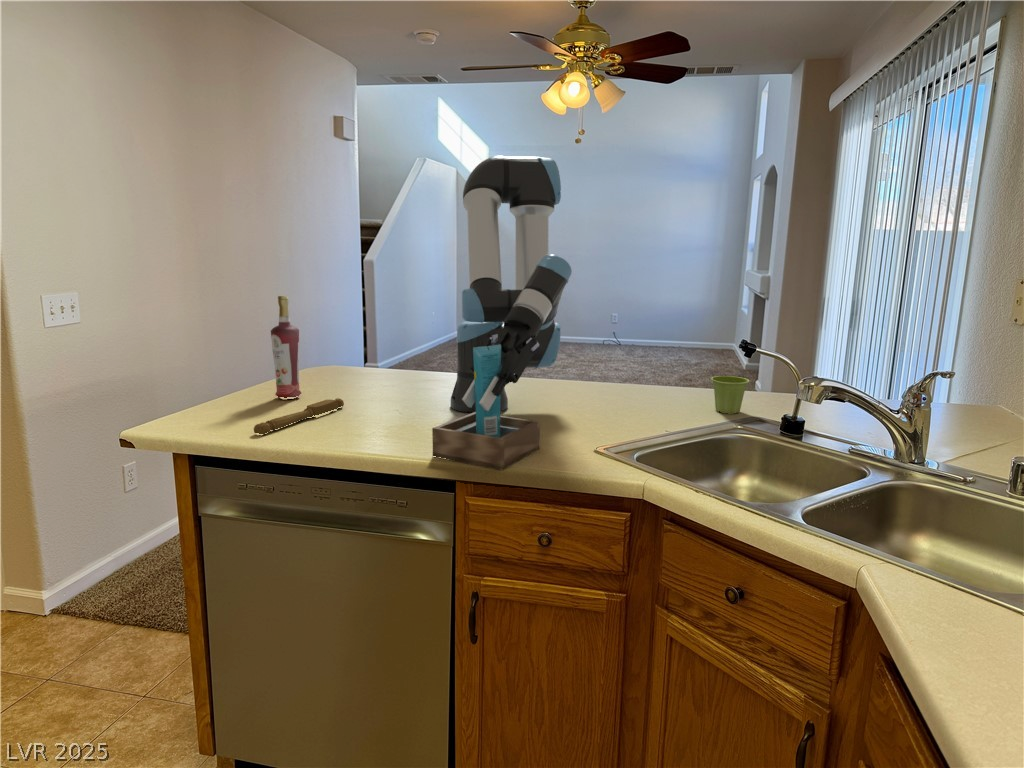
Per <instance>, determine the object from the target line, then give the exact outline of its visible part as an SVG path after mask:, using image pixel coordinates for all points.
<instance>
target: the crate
mask: <svg viewBox="0 0 1024 768" xmlns="http://www.w3.org/2000/svg"><path fill="white" fill-rule="evenodd" d="M431 431H432V434H431V435H432V457H433V456H436V457H441V458H446V459H449V460H448V461H451V460H452V462H456V463H462V464H467V465H474V466H477V467H482V468H487V469H493V470H498V471H503V470H504V469H505V470H506V468H508V467H510V466H512V465H514V464H515V463H517V462H519V461H521V460H522V459H523V460H524V458H526V457H528V456H530V455H532V454H533V452H534V453H535V452H537V451H539V450H540V445H541V444H540V443H541V441H540V439H541V421H539V420H533V419H526V418H520V417H519V418H518V417H511V416H505V415H500V438H498V437H492V436H486V435H480V434H476V412H473V413H467V414H466V415H464V416H461V417H457V418H456V419H452V420H451V421H448V422H445V423H442V424H439V425H437V426H434V427H432V430H431ZM436 457H435V458H436ZM441 458H440V459H441ZM446 459H445V460H446Z"/></svg>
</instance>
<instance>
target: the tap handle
mask: <svg viewBox="0 0 1024 768" xmlns="http://www.w3.org/2000/svg"><path fill="white" fill-rule="evenodd" d="M344 405H345V403H344V400H343V399H342V398H339V397H338V398H335V399H324V400H320V401H318V402H317V401H316V402H315V403H312V404H308V405H307V406H306V408H304V409H303V410H302V411H298V412H295V413H290V414H287V415H282V416H279V417H276V418H273V419H269V420H267V421H265V422H263V421H262V422H260V423H256V424H255V425H254V427H253V432H254V434H255V433H259V434H264V433H267V432H269V431H270V430H275V429H278V428H281V427H284V426H286V425H289V424H291V423H294V422H297V421H299V420H302V419H305V418H307V417H312V416H313V415H314V416H315V415H319V414H322V413H325V412H328V411H331V410H334V409H337V408H338V407H341V406H343V407H344ZM305 420H306V419H305ZM269 433H270V432H269Z"/></svg>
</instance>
